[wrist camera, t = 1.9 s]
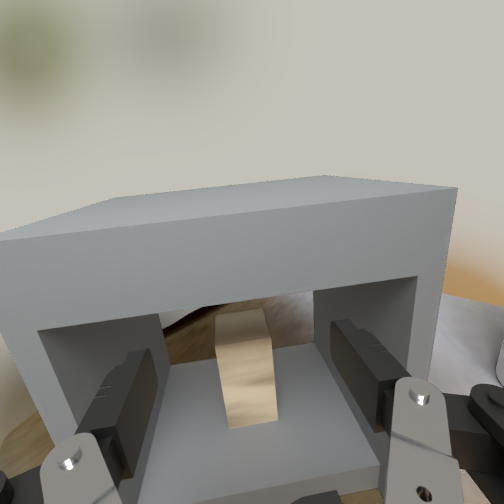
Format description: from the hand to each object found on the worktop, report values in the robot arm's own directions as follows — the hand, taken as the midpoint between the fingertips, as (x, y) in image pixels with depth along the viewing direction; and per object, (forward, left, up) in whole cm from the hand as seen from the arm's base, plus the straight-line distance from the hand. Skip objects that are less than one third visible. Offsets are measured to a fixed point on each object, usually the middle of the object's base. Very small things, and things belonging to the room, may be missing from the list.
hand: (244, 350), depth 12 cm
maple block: (-10, -7, -17) cm, 21 cm away
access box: (-10, -7, -20) cm, 23 cm away
